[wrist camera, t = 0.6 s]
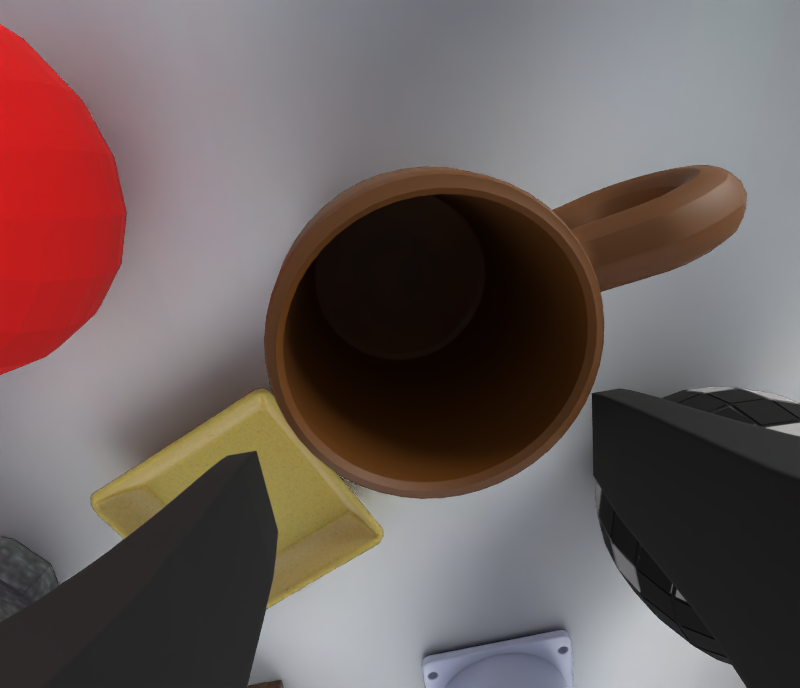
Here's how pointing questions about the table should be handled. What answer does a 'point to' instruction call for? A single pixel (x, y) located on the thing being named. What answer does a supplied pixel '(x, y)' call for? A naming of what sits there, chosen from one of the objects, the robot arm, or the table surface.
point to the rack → (268, 685)
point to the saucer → (285, 481)
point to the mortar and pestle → (22, 577)
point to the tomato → (51, 208)
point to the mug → (466, 316)
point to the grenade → (633, 556)
